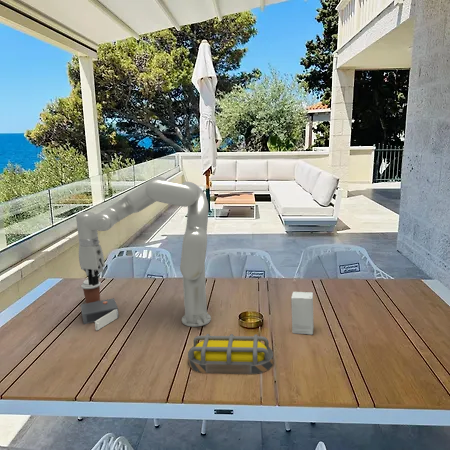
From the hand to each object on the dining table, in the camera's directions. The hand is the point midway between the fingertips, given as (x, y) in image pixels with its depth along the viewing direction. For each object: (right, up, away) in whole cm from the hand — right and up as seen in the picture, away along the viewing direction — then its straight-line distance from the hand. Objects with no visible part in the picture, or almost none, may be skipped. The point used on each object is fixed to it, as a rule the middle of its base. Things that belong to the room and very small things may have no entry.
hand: (93, 284), depth 167 cm
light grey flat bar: (+4, -18, +5) cm, 19 cm away
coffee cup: (-9, -14, +28) cm, 32 cm away
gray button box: (-2, -16, +15) cm, 22 cm away
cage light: (+57, -24, -27) cm, 67 cm away
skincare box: (+86, -18, -7) cm, 89 cm away
